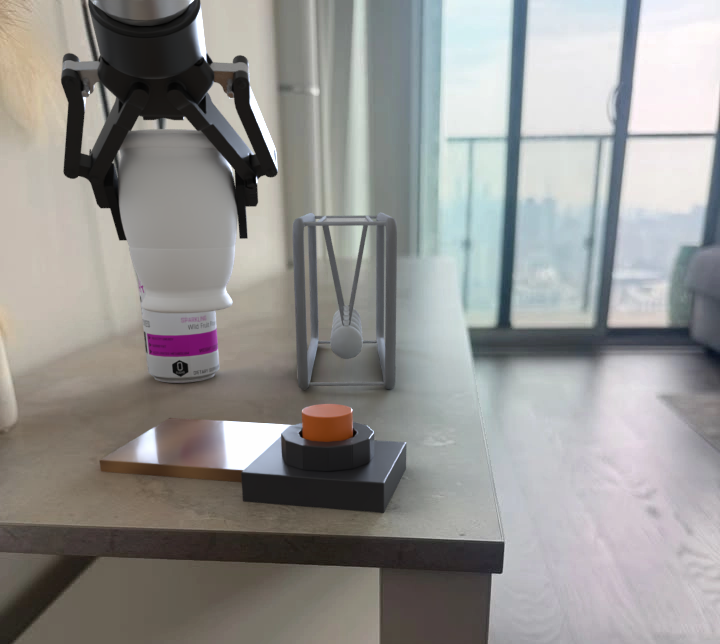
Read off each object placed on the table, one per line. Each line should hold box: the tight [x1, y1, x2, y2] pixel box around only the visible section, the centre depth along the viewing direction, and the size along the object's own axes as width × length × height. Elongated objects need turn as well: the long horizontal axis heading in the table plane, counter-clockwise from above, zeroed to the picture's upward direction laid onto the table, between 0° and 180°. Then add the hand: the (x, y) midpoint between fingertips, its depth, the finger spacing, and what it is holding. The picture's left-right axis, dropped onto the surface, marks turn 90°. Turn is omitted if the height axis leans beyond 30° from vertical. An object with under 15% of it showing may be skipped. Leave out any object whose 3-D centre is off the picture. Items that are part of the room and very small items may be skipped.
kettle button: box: [301, 403, 354, 442], centre depth 53 cm, size 4×4×2 cm
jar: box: [117, 128, 238, 313], centre depth 68 cm, size 11×10×15 cm
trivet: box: [99, 417, 293, 483], centre depth 62 cm, size 12×12×1 cm
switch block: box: [241, 421, 407, 514], centre depth 54 cm, size 10×9×4 cm
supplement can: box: [137, 277, 220, 384], centre depth 86 cm, size 8×8×15 cm
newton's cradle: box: [292, 212, 398, 391], centre depth 91 cm, size 30×10×18 cm, turn 1°
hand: (183, 228), depth 71 cm, fingers closed on jar, 10 cm apart
